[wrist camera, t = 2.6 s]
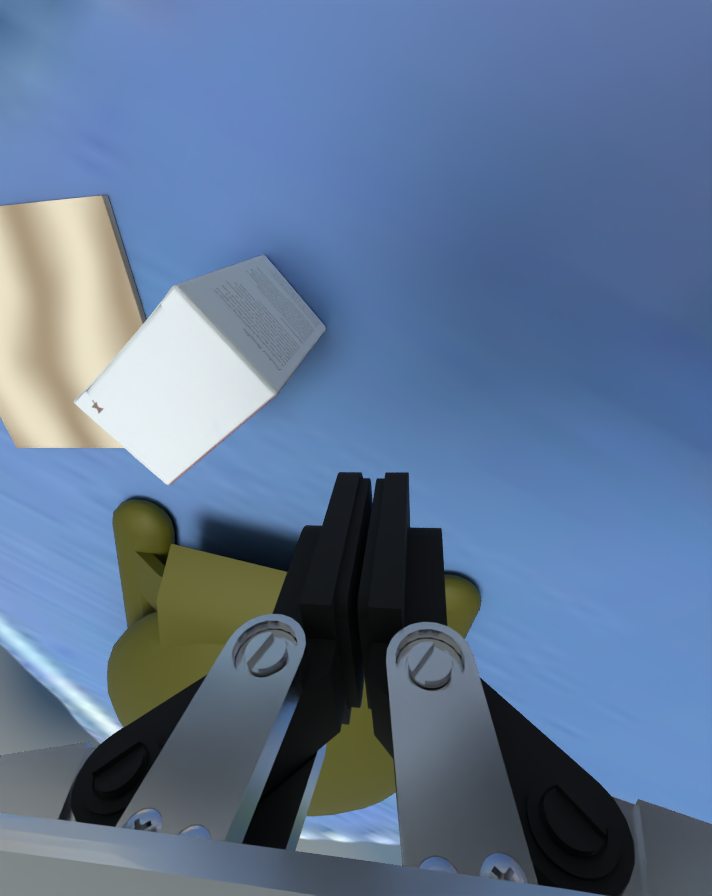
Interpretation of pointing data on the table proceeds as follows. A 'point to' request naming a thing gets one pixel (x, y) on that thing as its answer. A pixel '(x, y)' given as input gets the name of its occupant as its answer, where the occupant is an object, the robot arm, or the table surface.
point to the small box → (202, 365)
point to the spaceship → (209, 628)
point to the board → (60, 317)
